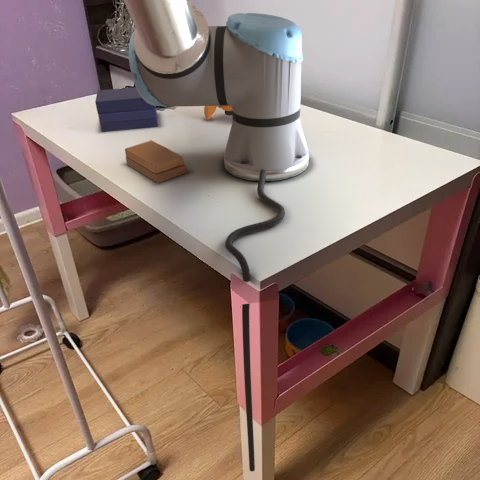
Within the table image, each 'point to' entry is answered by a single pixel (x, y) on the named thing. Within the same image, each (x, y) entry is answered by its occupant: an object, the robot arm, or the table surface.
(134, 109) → the navy book
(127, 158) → the brown pile
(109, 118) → the navy pile
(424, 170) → the table surface
